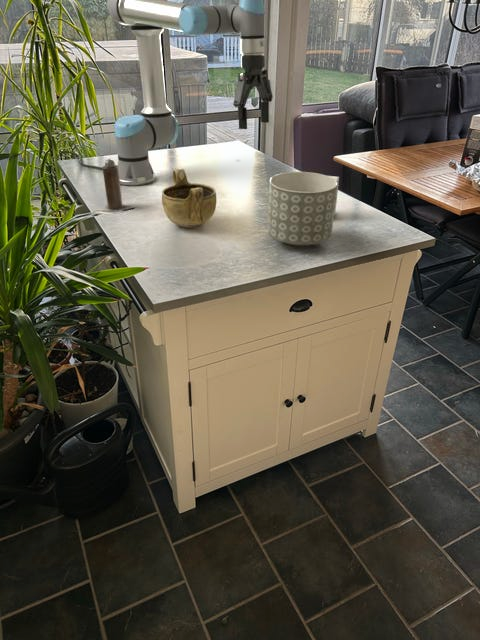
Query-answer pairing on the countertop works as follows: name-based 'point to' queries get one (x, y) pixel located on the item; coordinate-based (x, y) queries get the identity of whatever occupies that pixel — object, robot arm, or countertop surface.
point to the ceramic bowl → (188, 201)
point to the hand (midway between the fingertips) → (254, 125)
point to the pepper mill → (112, 185)
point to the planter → (301, 208)
